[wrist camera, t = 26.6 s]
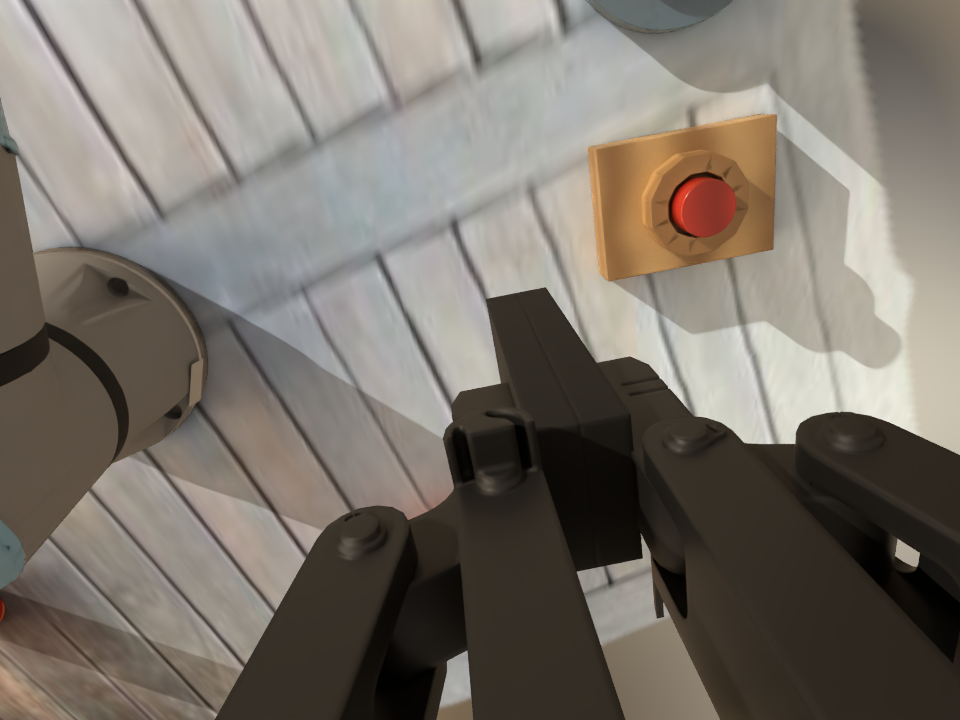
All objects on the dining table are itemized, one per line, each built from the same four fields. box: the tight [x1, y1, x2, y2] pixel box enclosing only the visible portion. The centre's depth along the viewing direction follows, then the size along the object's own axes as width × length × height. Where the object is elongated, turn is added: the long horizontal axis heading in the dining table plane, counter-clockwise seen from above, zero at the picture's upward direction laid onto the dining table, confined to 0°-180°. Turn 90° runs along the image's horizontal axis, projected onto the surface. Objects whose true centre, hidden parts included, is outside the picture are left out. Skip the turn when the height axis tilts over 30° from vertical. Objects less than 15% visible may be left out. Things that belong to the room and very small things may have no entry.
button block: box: [588, 114, 777, 281], centre depth 40 cm, size 12×9×4 cm
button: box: [671, 176, 736, 237], centre depth 38 cm, size 4×4×2 cm
